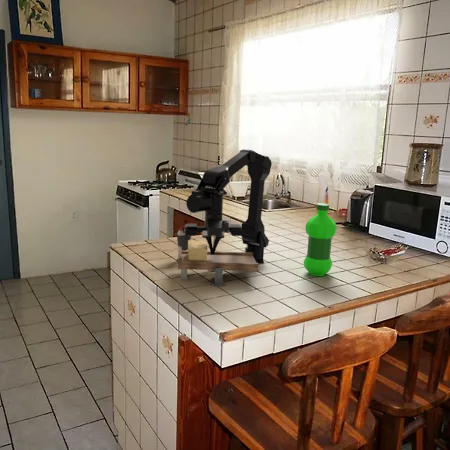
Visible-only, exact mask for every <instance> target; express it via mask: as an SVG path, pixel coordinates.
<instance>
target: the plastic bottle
mask: <svg viewBox="0 0 450 450" xmlns="http://www.w3.org/2000/svg"><path fill="white" fill-rule="evenodd" d="M315 209H316V210H317V213H316V214H315V215H314V216H312V217H311V218H310V219H309V220H307V222H306V224H305V233H306V234H307V236H308V240H307V241H308V242H307V243H308V244H307V252H306V253H307V255H306V257H305V258H304V260H303V266H304V268H305V270H306V271H307V272H308V273H309V275H311V276H314V277H324V276H325V275H326V274H328V273H329V272H330V270H331V269H332V267H333V261H332V258H331V250H332V242H333V241H332V240H333V237H334V236H335V235H336V233H337V230H338V226H337V223H336V222H335V221H334V220H333V218H331V216H329V215H328V211H329V210H330V204H329V203H323V202H318V203H316V208H315Z"/></svg>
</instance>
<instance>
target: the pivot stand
mask: <svg viewBox="0 0 450 450" xmlns="http://www.w3.org/2000/svg"><path fill="white" fill-rule="evenodd" d="M223 272H224V270H223V268H215V270H214V280H211V285H212V287H226V282H225V280H223V277H224V276H223V275H224V273H223ZM180 279H181V280H188V269H180Z"/></svg>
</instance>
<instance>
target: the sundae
mask: <svg viewBox="0 0 450 450" xmlns="http://www.w3.org/2000/svg"><path fill="white" fill-rule="evenodd" d="M185 225H186V224H184V222H183V221H182V222H181V226H180V228H179V229H178V231H177V232H175V233H174V234H175V236H176V239H177V240H176V241H177V246H178V248H177V249H179V247H181V248H182V251H188V240H192V239H191V238H192V237H193V235H185ZM176 260H177V262H178V258H176Z"/></svg>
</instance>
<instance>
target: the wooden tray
mask: <svg viewBox="0 0 450 450" xmlns="http://www.w3.org/2000/svg"><path fill="white" fill-rule="evenodd" d="M177 249H178V250H177V251H178V253H177V255H178V256H177V257H178V258H177V259H178V261H177V270H181V269H187V270H192V271H193V270H198V271H201V270H202V271H215V268H223V271H237V272H238V271H239V272H240V271H242V272H259V268H260V267H259V266H260V265H259V263H256V261H255V259H254V257H253V253H250V252H245V251H240V252H239V251H216V250H215V253H214V255H211V252H210V250H209V251H208V250H207V262H196V261H188V250H186V251H182V248H181V247H179V248H177Z"/></svg>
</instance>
